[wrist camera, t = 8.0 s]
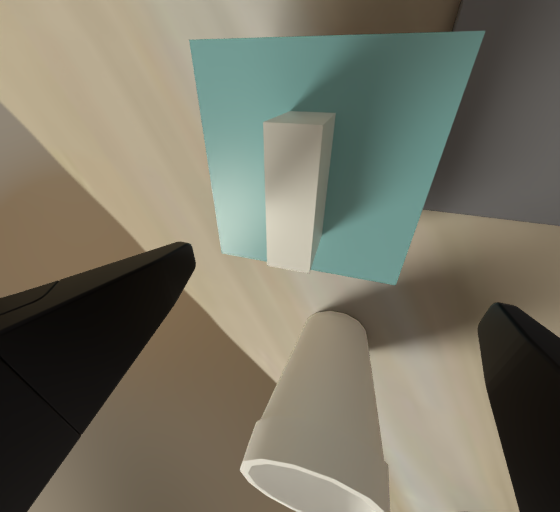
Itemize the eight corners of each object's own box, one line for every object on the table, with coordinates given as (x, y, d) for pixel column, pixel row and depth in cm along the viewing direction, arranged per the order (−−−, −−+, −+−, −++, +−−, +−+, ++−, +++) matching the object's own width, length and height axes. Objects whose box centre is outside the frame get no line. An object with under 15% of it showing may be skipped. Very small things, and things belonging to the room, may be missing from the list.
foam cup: (303, 285, 24) (250, 441, 14) (402, 320, 23) (425, 519, 12) (282, 342, 30) (234, 482, 19) (360, 373, 28) (353, 538, 18)
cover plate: (477, 34, 9) (540, 7, 6) (394, 276, 15) (400, 333, 12) (199, 41, 11) (126, 27, 8) (227, 247, 18) (192, 286, 14)
